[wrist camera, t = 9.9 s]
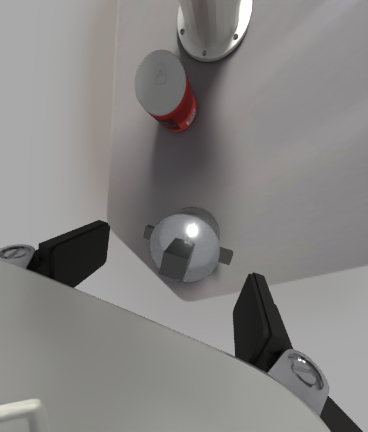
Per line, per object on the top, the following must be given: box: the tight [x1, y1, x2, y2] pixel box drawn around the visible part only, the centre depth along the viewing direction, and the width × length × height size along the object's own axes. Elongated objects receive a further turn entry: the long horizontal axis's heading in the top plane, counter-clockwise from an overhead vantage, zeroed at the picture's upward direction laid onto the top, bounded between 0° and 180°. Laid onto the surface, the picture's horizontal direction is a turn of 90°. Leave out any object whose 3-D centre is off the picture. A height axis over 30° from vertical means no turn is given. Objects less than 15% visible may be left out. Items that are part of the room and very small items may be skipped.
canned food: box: [135, 50, 197, 132], centre depth 29 cm, size 8×8×11 cm
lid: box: [150, 213, 220, 282], centre depth 27 cm, size 13×13×7 cm
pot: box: [144, 207, 233, 265], centre depth 35 cm, size 12×17×9 cm
